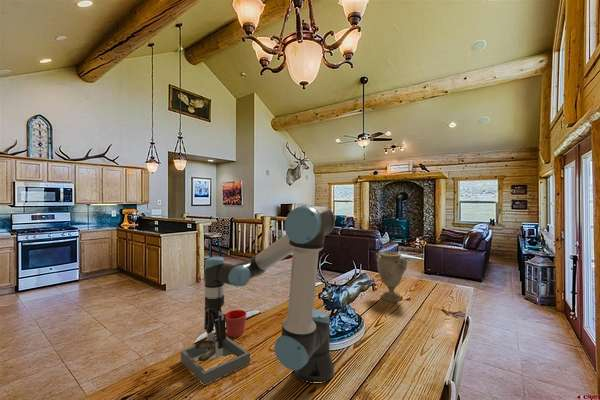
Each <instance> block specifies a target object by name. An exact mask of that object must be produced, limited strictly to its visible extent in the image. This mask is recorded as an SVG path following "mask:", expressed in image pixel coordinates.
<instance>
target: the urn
mask: <svg viewBox="0 0 600 400" xmlns="http://www.w3.org/2000/svg"><path fill="white" fill-rule="evenodd" d="M401 256H402V254H401V253H400V252H397V251H384V252H379V253H377V252H376V253H375V261H376V265H377V272H378V274H379V276H380V279H381V281H382V284H384V285H385V286H386V287H387V288H388V291H384V292H383V294H381V295H380V299H382V300H384V301H388V302H390V303H396V302H398V301H401V300H403V299H404V298H403V297H404V296H403V295H400V293H398V292H395V289H396V288H397V286H398V285H400V283H401V281H402V278H403V274H405V272H406V270H407V266H408V261H407V259H405V258H403V257H401Z"/></svg>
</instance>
